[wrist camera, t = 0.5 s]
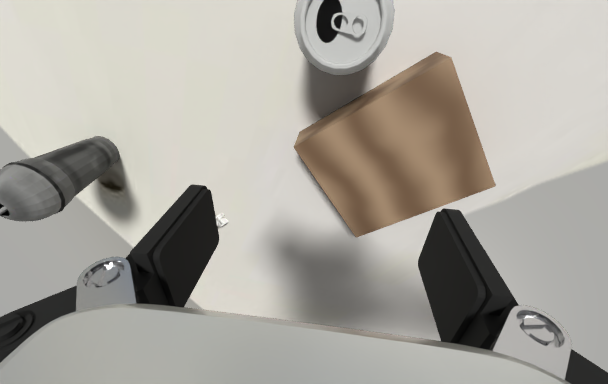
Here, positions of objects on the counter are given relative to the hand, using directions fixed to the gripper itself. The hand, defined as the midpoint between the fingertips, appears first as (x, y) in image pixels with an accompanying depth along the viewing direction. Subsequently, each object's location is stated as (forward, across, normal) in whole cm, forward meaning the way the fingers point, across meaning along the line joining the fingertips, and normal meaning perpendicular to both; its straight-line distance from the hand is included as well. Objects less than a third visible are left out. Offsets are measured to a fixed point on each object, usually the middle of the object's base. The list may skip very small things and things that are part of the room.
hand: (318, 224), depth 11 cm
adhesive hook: (+27, +17, +24) cm, 40 cm away
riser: (+26, -8, +7) cm, 28 cm away
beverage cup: (+26, +34, +11) cm, 45 cm away
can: (+26, 0, -7) cm, 27 cm away
